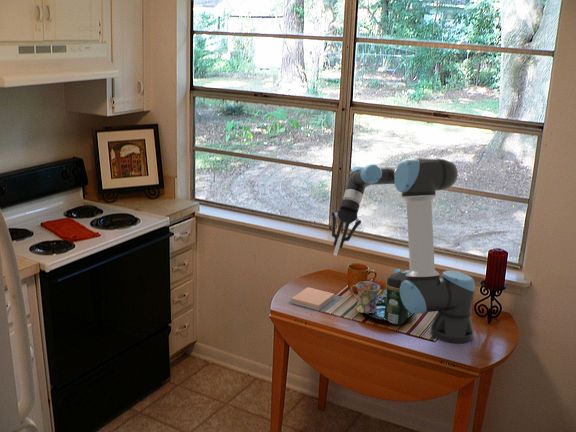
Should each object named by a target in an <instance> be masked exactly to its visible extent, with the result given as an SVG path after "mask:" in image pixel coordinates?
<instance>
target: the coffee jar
mask: <svg viewBox="0 0 576 432" xmlns="http://www.w3.org/2000/svg"><path fill="white" fill-rule="evenodd" d="M403 272H404V271H400V272H397V273H394V272H393V273H392V274H390V275H389V276H388V277H387V278H386V282H387V284H386V290H387V292H386V293H387V294H386V296H385V297H386V298H385V304H384V310H383V311H384V312H383V319H384V318H385V319H386V320H388V321H389V322H390V323H392V324H391V325H397V326H399V325H402V324H404V323H405V322H406V321H407V319H408V314H409V311H408V310H407V309H406V308H405V306H404V305H403V303H402V300H401V297H400V286H401V283H402V282H403V281H405V280H406V274H407V273H403ZM390 323H389V324H390Z"/></svg>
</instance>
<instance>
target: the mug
mask: <svg viewBox="0 0 576 432" xmlns="http://www.w3.org/2000/svg"><path fill="white" fill-rule="evenodd" d="M353 287H355V288H356V289H357V293H358V296H356V294H355V293H354V291H353ZM380 289H381V286H380V285H379V284H378V283H377V282H373V281H368V280H367V281H365V280H364V281H359V282H357V283H356V284H353V285H351V286H350V292H351V294H352V295H353V297H354V298H355V299H356V302H357V304H356V305H355V311H357V312H359V313H362V314H363V312H375V313H377V312H376V311H378V308H377V304H376V301H377V297H378V296H377V295H378V293H379V291H380Z"/></svg>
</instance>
